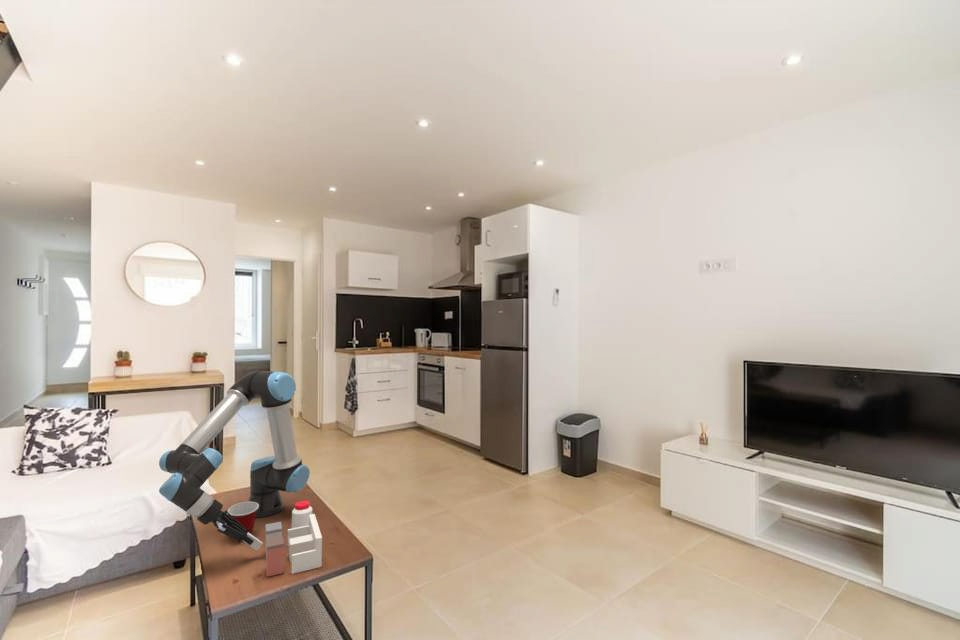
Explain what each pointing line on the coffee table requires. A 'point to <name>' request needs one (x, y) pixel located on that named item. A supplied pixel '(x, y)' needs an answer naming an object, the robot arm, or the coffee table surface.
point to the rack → (305, 546)
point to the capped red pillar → (274, 555)
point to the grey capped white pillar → (273, 530)
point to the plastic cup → (245, 514)
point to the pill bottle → (301, 514)
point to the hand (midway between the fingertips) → (259, 546)
